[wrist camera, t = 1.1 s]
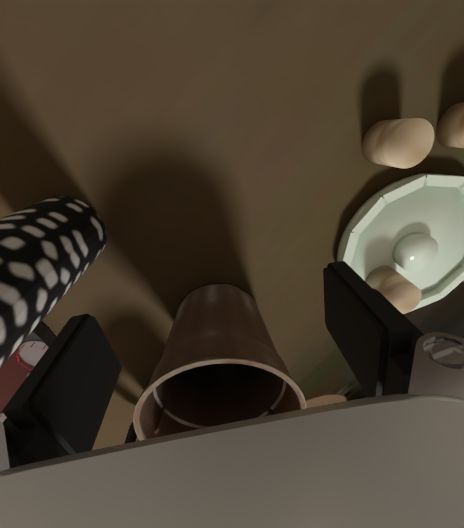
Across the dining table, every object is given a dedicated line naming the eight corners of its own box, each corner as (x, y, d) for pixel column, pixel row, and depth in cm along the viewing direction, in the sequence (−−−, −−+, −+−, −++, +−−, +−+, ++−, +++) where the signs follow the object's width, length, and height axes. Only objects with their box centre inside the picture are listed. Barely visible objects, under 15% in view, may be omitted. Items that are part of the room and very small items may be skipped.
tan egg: (382, 110, 28) (414, 107, 24) (408, 136, 30) (443, 137, 25) (353, 148, 30) (379, 151, 25) (379, 170, 31) (407, 177, 27)
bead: (381, 260, 36) (406, 279, 31) (402, 275, 37) (428, 295, 33) (358, 284, 37) (378, 305, 33) (379, 297, 38) (401, 319, 34)
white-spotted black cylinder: (45, 181, 29) (-219, 264, 11) (117, 221, 31) (-1, 339, 14) (23, 241, 32) (-216, 383, 14) (91, 273, 34) (-36, 427, 16)
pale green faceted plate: (418, 139, 30) (434, 139, 28) (505, 225, 36) (524, 231, 34) (308, 267, 36) (314, 276, 34) (397, 322, 42) (407, 333, 40)
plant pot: (141, 289, 36) (96, 395, 22) (253, 251, 35) (285, 337, 20) (188, 368, 43) (177, 485, 29) (282, 339, 42) (320, 447, 28)
